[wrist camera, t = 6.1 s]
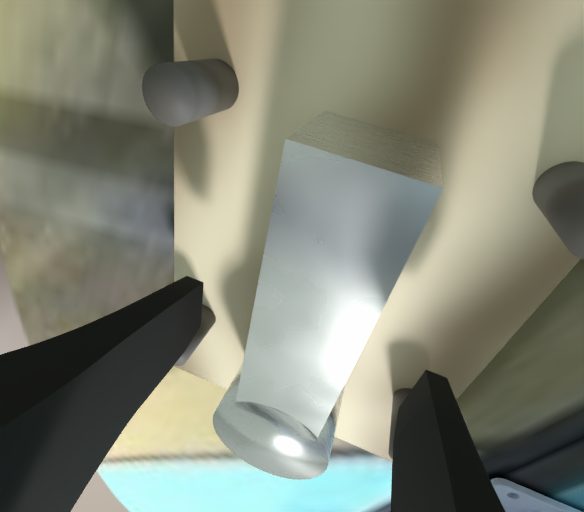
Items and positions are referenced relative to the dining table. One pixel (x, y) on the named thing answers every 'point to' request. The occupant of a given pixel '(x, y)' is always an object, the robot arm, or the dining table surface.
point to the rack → (395, 116)
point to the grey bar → (324, 284)
